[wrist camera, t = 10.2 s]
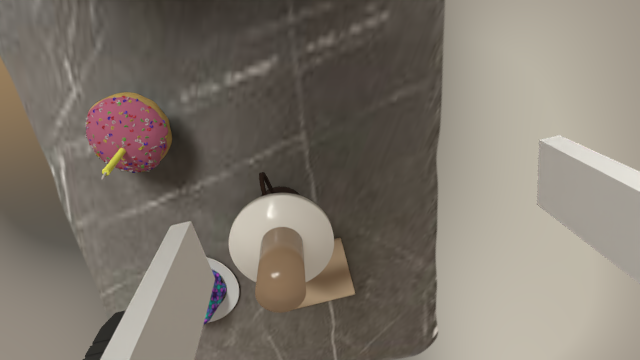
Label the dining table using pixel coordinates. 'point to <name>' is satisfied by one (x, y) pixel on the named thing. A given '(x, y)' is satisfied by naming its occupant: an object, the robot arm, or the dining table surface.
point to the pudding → (221, 292)
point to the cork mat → (330, 280)
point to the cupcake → (128, 132)
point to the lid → (281, 247)
